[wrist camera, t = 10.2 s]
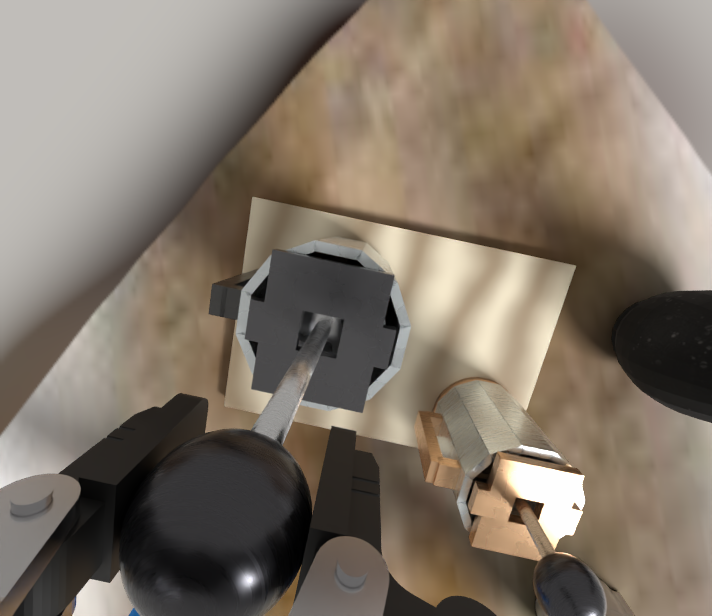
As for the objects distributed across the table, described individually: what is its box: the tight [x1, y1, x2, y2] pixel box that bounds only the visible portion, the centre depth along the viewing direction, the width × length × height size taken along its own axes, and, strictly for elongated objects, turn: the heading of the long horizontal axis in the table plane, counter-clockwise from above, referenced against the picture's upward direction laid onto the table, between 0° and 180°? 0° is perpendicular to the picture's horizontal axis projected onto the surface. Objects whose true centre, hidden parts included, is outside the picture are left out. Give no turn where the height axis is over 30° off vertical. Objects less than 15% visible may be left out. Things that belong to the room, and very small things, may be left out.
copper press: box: [414, 377, 585, 561], centre depth 31 cm, size 11×9×13 cm
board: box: [224, 197, 576, 451], centre depth 36 cm, size 31×22×2 cm
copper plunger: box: [476, 454, 607, 616], centre depth 25 cm, size 6×6×15 cm
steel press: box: [209, 236, 411, 413], centre depth 28 cm, size 13×10×15 cm
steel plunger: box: [119, 311, 386, 616], centre depth 14 cm, size 8×8×17 cm
